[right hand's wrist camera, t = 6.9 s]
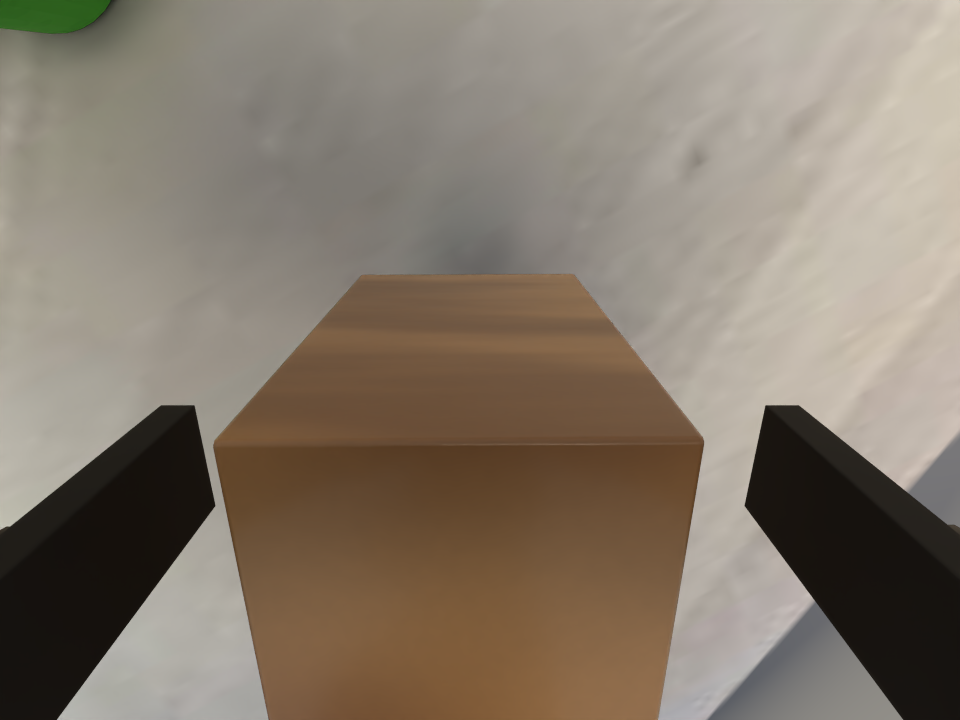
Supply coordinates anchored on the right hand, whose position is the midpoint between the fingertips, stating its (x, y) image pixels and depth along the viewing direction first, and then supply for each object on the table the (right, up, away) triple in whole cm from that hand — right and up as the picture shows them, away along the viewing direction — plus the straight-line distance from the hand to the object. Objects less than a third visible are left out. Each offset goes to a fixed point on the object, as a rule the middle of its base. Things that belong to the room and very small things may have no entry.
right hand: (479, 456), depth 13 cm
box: (0, -6, +7) cm, 10 cm away
